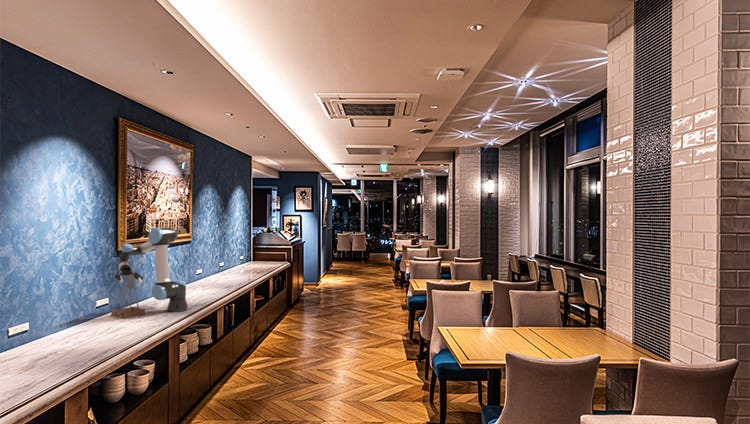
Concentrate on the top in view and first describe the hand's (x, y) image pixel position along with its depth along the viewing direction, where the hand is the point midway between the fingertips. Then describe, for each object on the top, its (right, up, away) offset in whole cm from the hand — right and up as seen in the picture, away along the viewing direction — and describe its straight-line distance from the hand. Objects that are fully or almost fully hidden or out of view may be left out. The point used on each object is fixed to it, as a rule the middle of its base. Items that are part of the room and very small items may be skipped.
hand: (131, 282), depth 355 cm
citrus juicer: (0, -23, -5) cm, 24 cm away
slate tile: (-1, -23, +17) cm, 29 cm away
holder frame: (0, -23, -5) cm, 24 cm away
